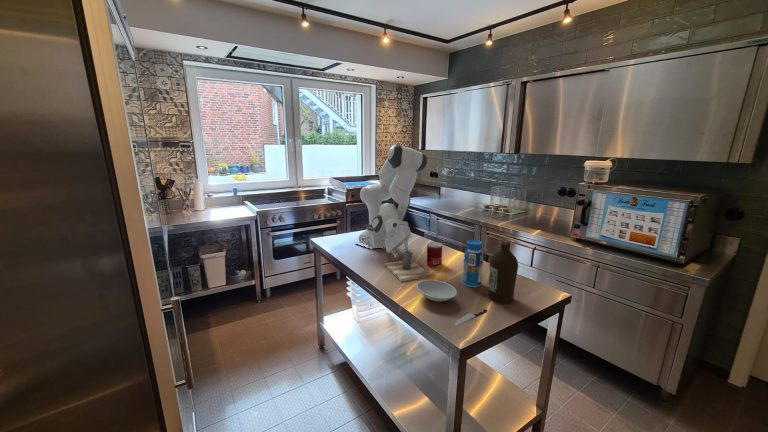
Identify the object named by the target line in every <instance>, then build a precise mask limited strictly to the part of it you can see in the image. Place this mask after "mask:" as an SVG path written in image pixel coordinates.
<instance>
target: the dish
mask: <svg viewBox="0 0 768 432" xmlns="http://www.w3.org/2000/svg"><path fill="white" fill-rule="evenodd" d="M415 288H416V289H417V291H418V292H419V293H421V295H422V296H424V297H425V298H426V299H428V300H430V301H433V302H439V303H440V302H446V301H449V300H450V299H452V298H455V297H456V296H457V294H458V291H457V289H456V288H455V286H453V285H452V284H450V283H448V282H445V281H443V280H442V281H441V280H439V279H438V280H437V279H422V280H420V281H418V282H417V283H416V287H415Z"/></svg>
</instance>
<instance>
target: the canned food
mask: <svg viewBox="0 0 768 432" xmlns="http://www.w3.org/2000/svg"><path fill="white" fill-rule="evenodd" d="M426 245H427V246H426V264H427V266H429V267H434V268H435V267H440V266H441V265H442V261H443V243H441V242H437V241H436V242H435V241H434V242H432V241H431V242H427V244H426Z"/></svg>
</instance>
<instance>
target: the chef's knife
mask: <svg viewBox="0 0 768 432" xmlns="http://www.w3.org/2000/svg"><path fill="white" fill-rule="evenodd" d="M487 311H488V309H485V308H484V309H482V310H481V311H479V312H476V313H474V314H472V313H467V314H465V315H464V316H462V317H460V318H458V319H457V320H456V321H455V323H454V326H456V327H457V326H459V325H461V324H464V323H465V322H467V321H470V320H472V319H475V318H476V317H478V316H480V315H482V314H484V313H487Z"/></svg>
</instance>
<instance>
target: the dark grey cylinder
mask: <svg viewBox="0 0 768 432" xmlns="http://www.w3.org/2000/svg"><path fill="white" fill-rule="evenodd" d="M411 260H412V261H413V252H412V249H409V248H408V249H407V250H404V254H403V260H402V261H403V265H402V267H403V268H407V269H410V266H411Z"/></svg>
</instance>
